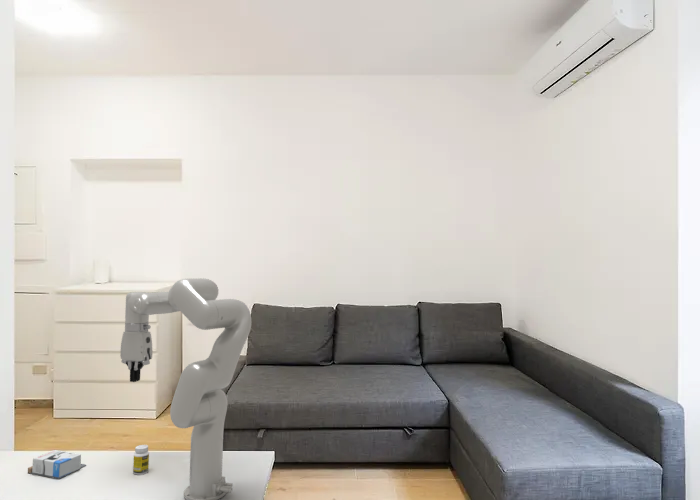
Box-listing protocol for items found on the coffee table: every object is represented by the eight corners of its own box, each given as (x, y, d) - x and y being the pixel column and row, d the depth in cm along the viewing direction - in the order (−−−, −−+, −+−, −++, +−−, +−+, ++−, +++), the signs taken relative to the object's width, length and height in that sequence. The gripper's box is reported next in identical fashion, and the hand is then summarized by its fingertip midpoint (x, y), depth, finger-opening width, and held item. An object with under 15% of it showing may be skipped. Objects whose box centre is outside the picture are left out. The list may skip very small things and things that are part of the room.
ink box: (59, 462, 158) (32, 458, 161) (59, 478, 158) (31, 473, 161) (81, 453, 166) (54, 449, 170) (81, 468, 166) (54, 463, 169)
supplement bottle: (142, 475, 162) (143, 449, 162) (129, 474, 163) (130, 448, 163) (151, 470, 166) (152, 444, 167) (138, 468, 167) (139, 443, 168)
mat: (86, 465, 169) (86, 460, 169) (59, 478, 158) (59, 473, 158) (55, 461, 173) (56, 455, 173) (27, 473, 162) (27, 467, 162)
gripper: (162, 327, 172) (160, 380, 172) (126, 325, 177) (124, 377, 176) (147, 330, 165) (145, 385, 165) (110, 327, 169) (108, 381, 169)
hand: (134, 381), depth 170 cm, fingers closed
